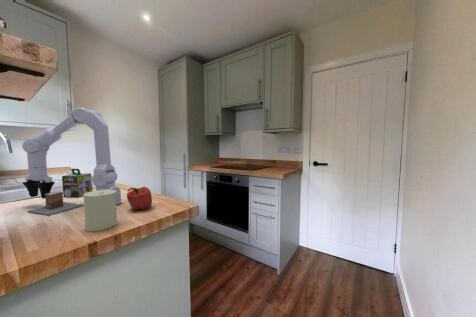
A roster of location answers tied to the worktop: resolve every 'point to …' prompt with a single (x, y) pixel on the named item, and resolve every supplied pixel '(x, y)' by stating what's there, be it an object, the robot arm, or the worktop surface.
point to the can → (100, 210)
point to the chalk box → (76, 184)
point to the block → (54, 200)
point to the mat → (48, 212)
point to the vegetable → (139, 198)
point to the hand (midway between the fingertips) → (39, 197)
